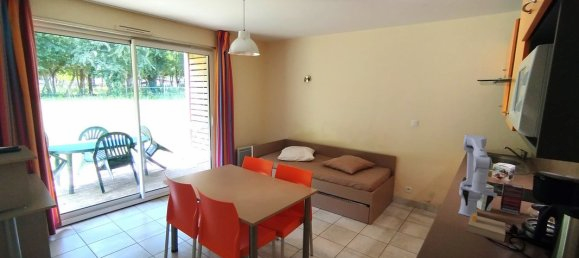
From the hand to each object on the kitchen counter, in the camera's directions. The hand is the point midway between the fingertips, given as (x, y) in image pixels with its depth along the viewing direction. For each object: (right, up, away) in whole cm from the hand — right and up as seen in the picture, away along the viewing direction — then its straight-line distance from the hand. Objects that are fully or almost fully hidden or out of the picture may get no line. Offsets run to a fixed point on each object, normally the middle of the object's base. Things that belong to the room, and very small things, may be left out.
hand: (475, 207), depth 131 cm
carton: (+4, -11, -1) cm, 12 cm away
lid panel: (+4, -8, -2) cm, 9 cm away
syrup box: (+20, -8, +23) cm, 32 cm away
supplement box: (+34, -9, +21) cm, 40 cm away
